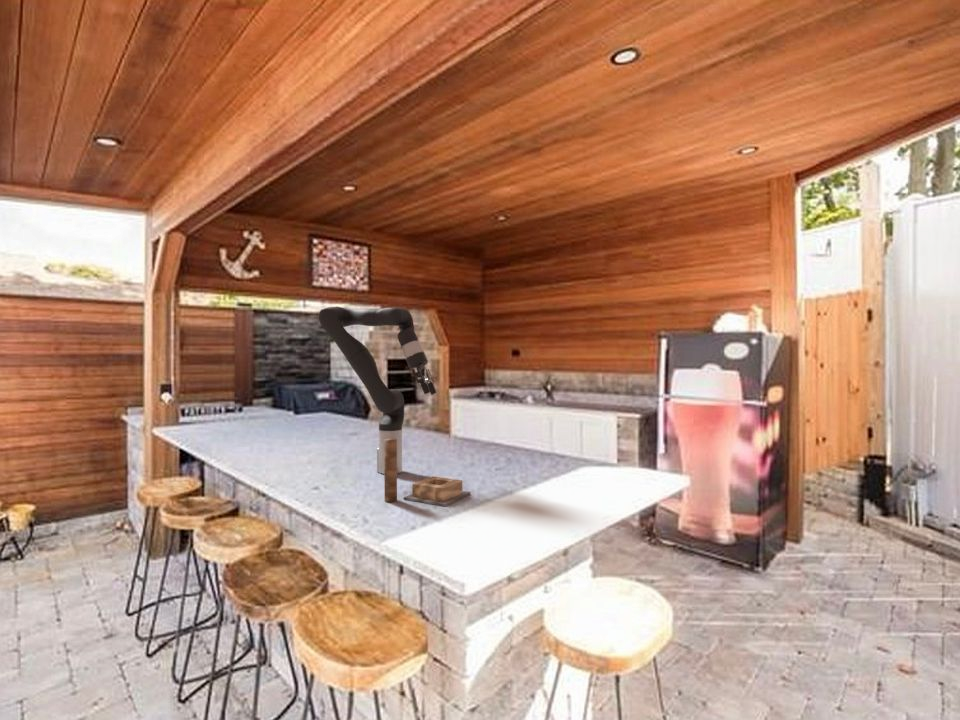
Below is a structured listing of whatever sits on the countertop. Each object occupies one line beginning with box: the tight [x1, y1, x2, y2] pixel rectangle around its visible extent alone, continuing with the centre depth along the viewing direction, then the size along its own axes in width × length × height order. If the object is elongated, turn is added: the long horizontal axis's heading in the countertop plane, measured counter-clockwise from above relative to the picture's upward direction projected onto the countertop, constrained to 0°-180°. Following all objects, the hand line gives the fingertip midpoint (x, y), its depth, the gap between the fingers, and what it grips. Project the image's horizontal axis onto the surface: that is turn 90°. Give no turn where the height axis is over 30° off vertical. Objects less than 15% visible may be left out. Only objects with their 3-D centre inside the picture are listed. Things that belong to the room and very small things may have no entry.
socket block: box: [403, 476, 471, 507], centre depth 180 cm, size 16×16×5 cm
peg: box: [383, 439, 398, 503], centre depth 176 cm, size 4×4×20 cm
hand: (430, 393), depth 204 cm, fingers open, 8 cm apart
